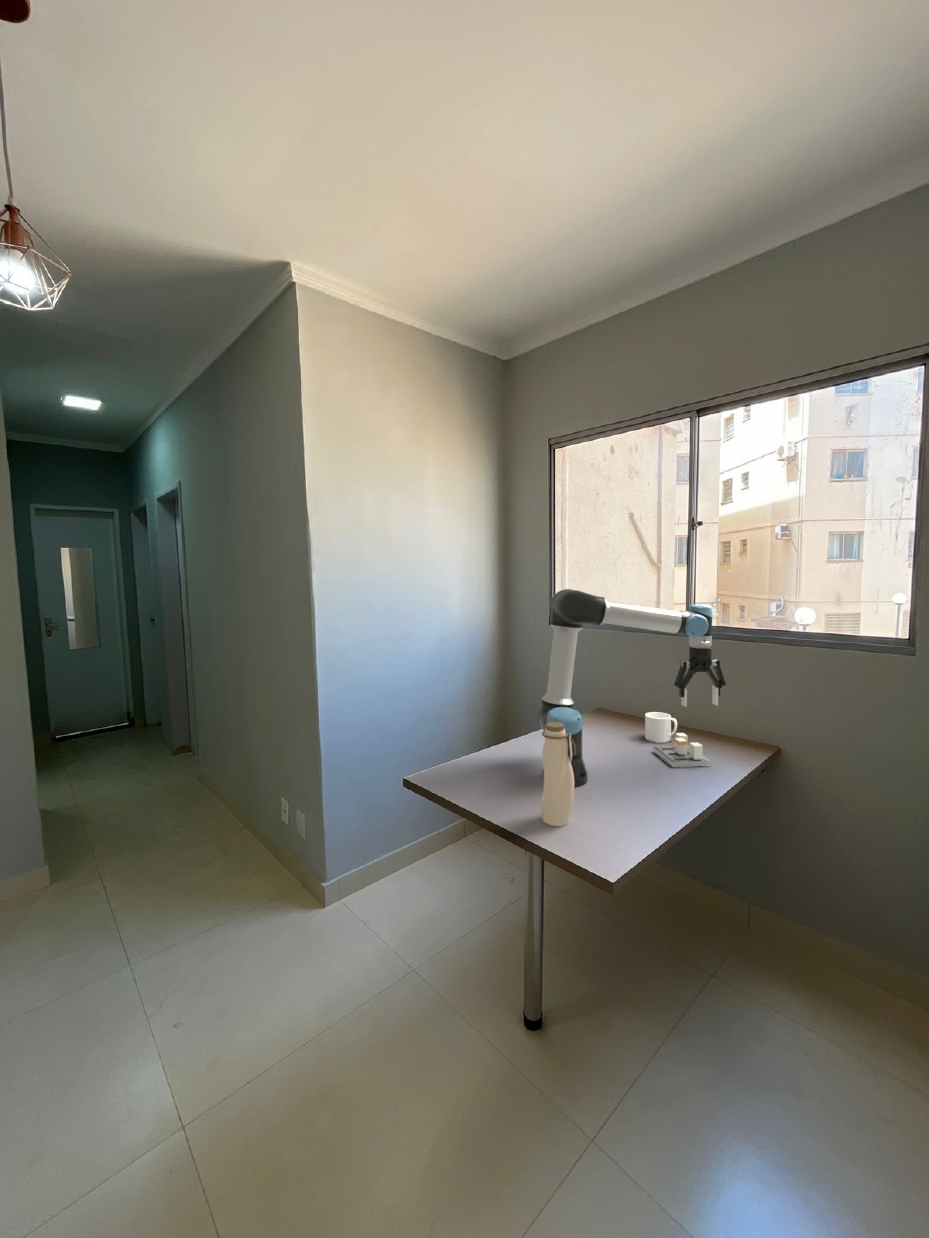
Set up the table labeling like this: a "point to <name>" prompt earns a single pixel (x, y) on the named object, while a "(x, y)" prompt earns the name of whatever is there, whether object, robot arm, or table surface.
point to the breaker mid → (680, 746)
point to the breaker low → (696, 751)
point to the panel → (679, 757)
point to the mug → (659, 726)
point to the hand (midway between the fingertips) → (699, 705)
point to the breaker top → (682, 735)
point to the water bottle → (557, 775)
